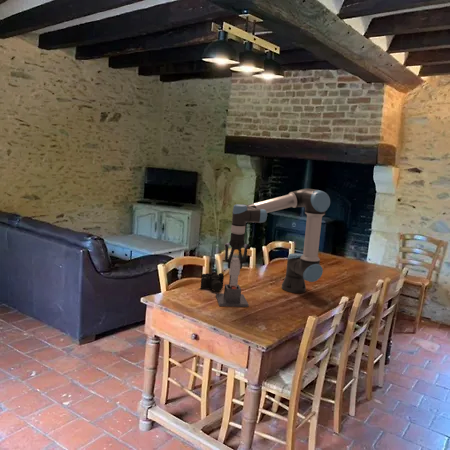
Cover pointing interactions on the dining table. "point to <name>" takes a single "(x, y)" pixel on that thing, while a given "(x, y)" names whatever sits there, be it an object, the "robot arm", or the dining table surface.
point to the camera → (212, 281)
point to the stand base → (232, 297)
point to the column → (234, 272)
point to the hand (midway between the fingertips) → (234, 274)
